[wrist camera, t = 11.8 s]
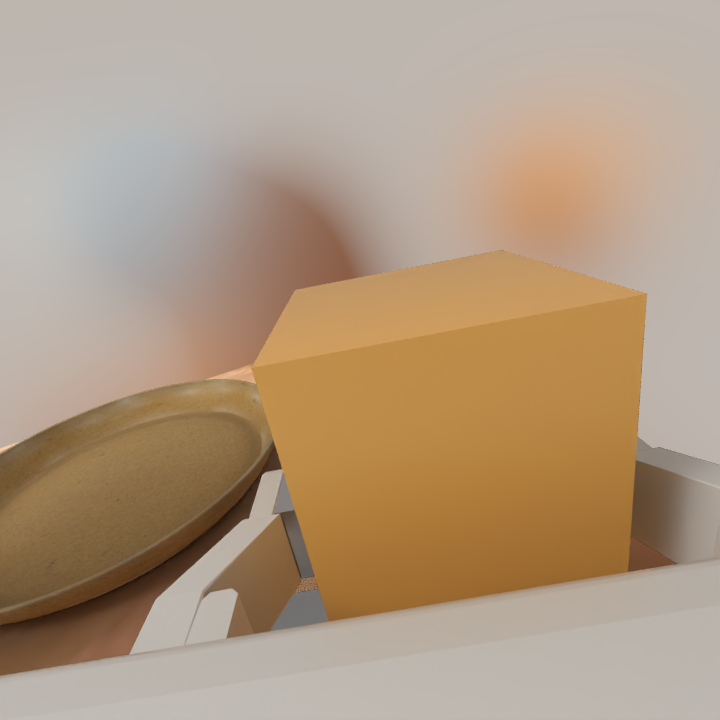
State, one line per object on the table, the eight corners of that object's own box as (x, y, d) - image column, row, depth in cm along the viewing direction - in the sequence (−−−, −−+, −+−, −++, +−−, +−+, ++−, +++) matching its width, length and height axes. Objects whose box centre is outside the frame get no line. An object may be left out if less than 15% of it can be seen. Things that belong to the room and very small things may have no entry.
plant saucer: (-200, 812, 15) (-267, 761, 14) (-41, 494, 34) (-63, 461, 33) (352, 488, 26) (342, 444, 25) (236, 387, 46) (227, 359, 44)
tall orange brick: (381, 793, 9) (251, 367, 5) (368, 588, 13) (295, 290, 10) (615, 757, 9) (646, 293, 5) (520, 563, 13) (502, 249, 10)
